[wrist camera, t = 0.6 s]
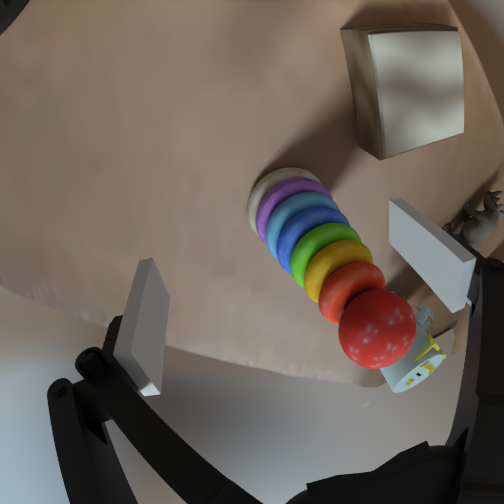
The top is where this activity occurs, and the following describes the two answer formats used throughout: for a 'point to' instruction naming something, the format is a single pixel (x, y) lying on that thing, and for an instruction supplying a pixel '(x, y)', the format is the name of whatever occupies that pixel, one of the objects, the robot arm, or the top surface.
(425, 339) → the character sculpture
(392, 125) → the pedestal
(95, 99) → the top surface
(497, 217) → the rhino figurine
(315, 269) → the stacking toy
